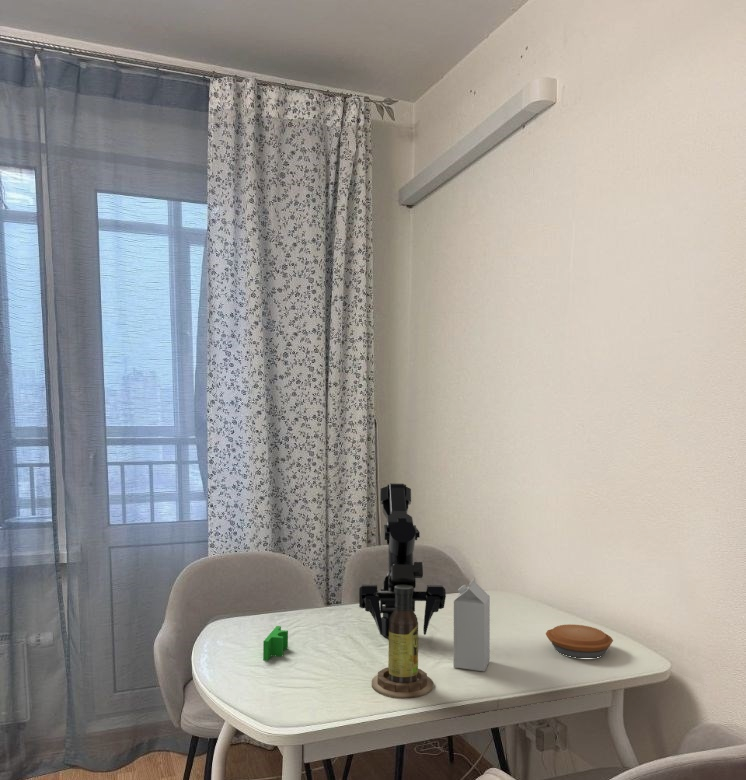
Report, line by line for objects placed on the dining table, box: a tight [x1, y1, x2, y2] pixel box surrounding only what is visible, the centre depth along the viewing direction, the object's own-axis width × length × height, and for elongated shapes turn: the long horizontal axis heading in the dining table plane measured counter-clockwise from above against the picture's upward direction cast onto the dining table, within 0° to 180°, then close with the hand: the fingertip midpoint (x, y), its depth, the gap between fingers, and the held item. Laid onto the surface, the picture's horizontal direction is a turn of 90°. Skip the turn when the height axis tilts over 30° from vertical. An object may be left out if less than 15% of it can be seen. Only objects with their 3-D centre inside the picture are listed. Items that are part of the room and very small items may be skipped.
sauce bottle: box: [388, 585, 419, 683], centre depth 138 cm, size 6×6×20 cm
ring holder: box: [371, 667, 434, 699], centre depth 138 cm, size 13×13×2 cm
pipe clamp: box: [262, 625, 289, 661], centre depth 157 cm, size 11×4×5 cm, turn 173°
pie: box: [545, 624, 614, 659], centre depth 159 cm, size 15×16×5 cm
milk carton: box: [452, 577, 491, 672], centre depth 150 cm, size 7×7×19 cm
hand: (403, 633), depth 137 cm, fingers open, 9 cm apart
